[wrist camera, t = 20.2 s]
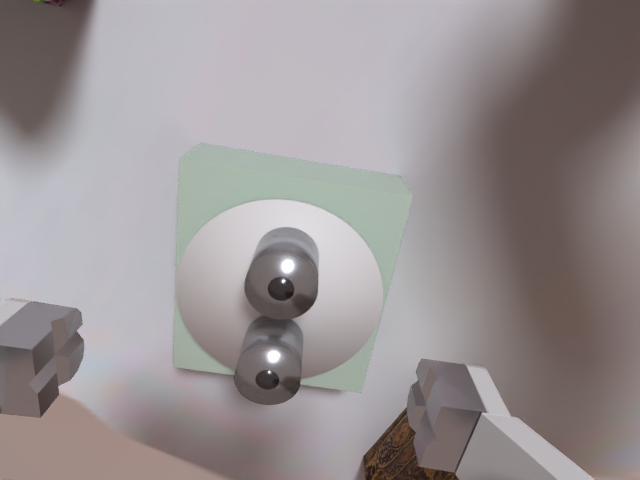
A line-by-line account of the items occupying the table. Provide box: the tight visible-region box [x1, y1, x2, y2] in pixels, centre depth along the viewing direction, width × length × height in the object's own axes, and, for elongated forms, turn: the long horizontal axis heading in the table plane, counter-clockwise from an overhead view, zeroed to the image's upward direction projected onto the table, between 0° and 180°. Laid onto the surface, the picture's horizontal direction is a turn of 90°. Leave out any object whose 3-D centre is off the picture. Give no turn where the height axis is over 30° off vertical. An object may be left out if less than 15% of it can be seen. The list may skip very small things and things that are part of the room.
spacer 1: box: [244, 227, 319, 320], centre depth 31 cm, size 5×5×5 cm
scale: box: [173, 143, 413, 393], centre depth 38 cm, size 18×21×8 cm
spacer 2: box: [234, 316, 304, 405], centre depth 34 cm, size 5×5×5 cm
